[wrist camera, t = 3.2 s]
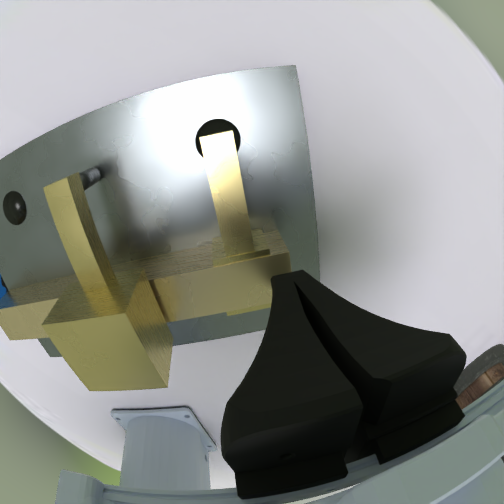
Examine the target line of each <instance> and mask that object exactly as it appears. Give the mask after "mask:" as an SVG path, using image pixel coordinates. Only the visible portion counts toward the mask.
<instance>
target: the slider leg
mask: <svg viewBox="0 0 504 504" xmlns="http://www.w3.org/2000/svg"><path fill="white" fill-rule="evenodd" d="M100 176H101V175H100V171H99V170H98V169H97V168H95V167H92V168H89V169H87V170H85V171H83V172H81V173H79V172H77V173H74V174H72V175H69V176H67V177H65V178H62V179H60V180H57V181H55V182H53V183H51V184H49V185H47V186H45V187H43V189H44V193H45V196H46V199H47V202H48V205H49V208H50V211H51V214H52V217H53V220H54V222H55V225H56V228H57V230H58V233H59V236H60V238H61V241H62V243H63V246H64V248H65V251H66V253H67V255H68V258H69V260H70V262H71V264H72V267H73V269H74V271H75V273H76V275H77V278H78V280H79V282H74V283H70V284H68V286H67V287H66V288H65V290H64V291H63V293H62V294H61V296H60V297H59V299H58V300H57V302H56V303H55V305H54V306H53V308H52V309H51V311H50V312H49V314H48V315H47V317H46V318H45V320H44V322H43V323H42V327H43V329H44V330H45V332H46V333H47V335H48V336H49V338H50V339H51V341H52V342H53V344H54V345H55V347H56V348H57V349H58V351H59V352H60V354H61V355H62V357H63V358H64V359H65V361H66V362H67V363H68V365H69V366H70V367H71V369H72V370H73V371H74V372H75V374H76V375H77V376H78V378H79V379H80V380H81V381H82V382H83V384H84V385H85V386H86V387H87V388H88V390H89V391H122V390H142V389H156V388H167V387H168V380H169V370H170V362H171V354H172V346H173V336H172V334H171V332H170V330H169V328H168V326H167V323H166V321H165V319H164V317H163V314H162V312H161V310H160V307H159V305H158V303H157V300H156V298H155V296H154V293H153V291H152V288H151V286H150V283H149V281H148V278H147V276H146V273H145V271H144V268H139V269H135V270H130V271H125V272H121V273H116V274H114V272H113V269H112V267H111V265H110V262H109V260H108V257H107V255H106V252H105V250H104V247H103V245H102V242H101V239H100V237H99V234H98V231H97V228H96V226H95V223H94V220H93V217H92V214H91V211H90V208H89V205H88V202H87V199H86V196H85V192H84V191H85V190H86V189H88V188H89V187H91V186H93V185H94V184H96V183H97V182H98V181H99V180H100Z"/></svg>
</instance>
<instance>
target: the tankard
mask: <svg viewBox="0 0 504 504" xmlns="http://www.w3.org/2000/svg"><path fill="white" fill-rule="evenodd" d="M503 380H504V345H502V344H498V345H496V346H494V347H492V348H490V349H488V350H487V351H485V352H484V353H483V354H481V355H480V356H479V357H477V358H476V359H475V360H474V361H473V362H472V363H470V364H469V365H468V366H467V367H466V368H465V369H464V370H463V371H462V373H461V375H460V377H459V378H458V380H457V382H456V384H455V385H454V387H453V388H454V389H455V391H456V392H457V394H458V397H457V398H456V399H455V400H456V402H457V403H458V405H459V406H460V408H461V410H462V409H464V408H465V407H467V406H468V405H470V404H471V403H473V402H474V401H476V400H477V399H479V398H480V397H481V396H483V395H484V394H486V393H487V392H488V391H490V390H491V389H492V388H494V387H495V386H496V385H498V384H499V383H500V382H501V381H503ZM501 459H502V461H503V463H504V455H503V456H502V457H501Z"/></svg>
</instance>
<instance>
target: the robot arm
mask: <svg viewBox="0 0 504 504" xmlns="http://www.w3.org/2000/svg"><path fill="white" fill-rule="evenodd" d="M270 280H271V286H272V302H271V310H270V315H269V319H268V324H267V327H266V331H265V334H264V337H263V340H262V343H261V345H260V347H259V350H258V352H257V355H256V357H255V359H254V361H253V363H252V365H251V367H250V368H249V370H248V372H247V374H246V375H245V377H244V379H243V381H242V382H241V384H240V385H239V387H238V388H237V389H236V391H235V392H234V394H233V395H232V396H231V398H230V399H229V400H228V402H227V404H226V408H225V412H224V416H223V421H222V427H221V450H222V456H223V459H224V460H225V461H226V462H227V463H228V465H229V466H230V467H231V468H232V470H233V471H234V472H235V479H236V488H227V489H213V490H211V489H210V474H209V456H208V452H210V451H216V450H217V447H216V445H215V444H214V443H213V441H212V440H211V438H210V437H209V436H208V434H207V433H206V432H205V430H204V429H203V427H202V426H201V424H200V423H199V422H198V420H197V419H196V417H195V416H194V414H193V413H192V411H191V410H190V409H189V408H171V409H156V410H114V411H111V416H112V417H113V418H114V419H115V420H116V421H117V422H118V423H119V424H120V425H121V426H122V427H123V428H124V429H125V430H126V437H125V444H124V451H123V459H122V467H121V476H120V477H121V478H120V486H114V485H107V484H103V483H102V482H101V481H99V480H98V479H96V478H94V477H92V476H89V475H86V474H82V473H77V472H72V471H68V470H64V469H63V470H61V472H60V477H59V482H58V488H57V494H56V501H55V504H284V503H289V502H294V501H299V500H303V499H308V498H312V497H316V496H319V495H323V494H327V493H331V492H334V491H337V490H340V489H343V488H347V487H350V486H353V485H356V484H358V485H356V486H354V487H352V488H351V489H348V490H345V491H342V492H340V493H337V494H334V495H331V496H328V497H325V498H322V499H319V500H316V501H312V502H309V503H306V504H504V463H503V461H502V459H501V457H502V456H503V455H504V380H503V381H501V382H500V383H499V384H498V385H496V386H495V387H494V388H492V389H491V390H490V391H488V392H487V393H486V394H484V395H483V396H481V397H480V398H479V399H477V400H476V401H474V402H473V403H471V404H470V405H468V406H467V407H465V408H464V409H462V410H461V408H460V406H459V405H458V403H457V402H456V400H455V399H456V398H457V397H458V394H457V392H456V391H455V389H454V388H453V387H454V385H455V384H456V382H457V380H458V378H459V377H460V375H461V373H462V371H463V369H464V366H465V364H466V357H467V356H466V354H465V352H464V351H463V349H462V348H461V347H460V346H459V344H458V343H457V342H456V341H455V340H454V338H453V337H452V336H451V335H450V334H446V333H440V332H433V331H427V330H422V329H418V328H414V327H410V326H406V325H403V324H399V323H396V322H393V321H390V320H388V319H385V318H382V317H380V316H377V315H375V314H372V313H370V312H368V311H366V310H364V309H362V308H360V307H358V306H356V305H354V304H352V303H350V302H349V301H347V300H345V299H344V298H342V297H340V296H339V295H337V294H336V293H334V292H333V291H331V290H330V289H328V288H327V287H326V286H324V285H323V284H321V283H320V282H319V281H317V280H316V279H315V278H313V277H312V276H311V275H310V274H308V273H307V272H306V271H304V270H298V271H294V272H289V273H284V274H280V275H275V276H272V278H271V279H270ZM361 482H362V483H361ZM359 483H360V484H359Z"/></svg>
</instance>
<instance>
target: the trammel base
mask: <svg viewBox="0 0 504 504" xmlns="http://www.w3.org/2000/svg"><path fill="white" fill-rule="evenodd" d="M92 167H95V168H97V169H98V170H99V171H100V175H101V176H100V180H99V181H98V182H97V183H96V184H94V185H93V186H91V187H89V188H88V189H86V190H85V191H84V192H85V196H86V199H87V202H88V205H89V208H90V211H91V214H92V217H93V220H94V223H95V226H96V228H97V231H98V234H99V237H100V239H101V242H102V245H103V247H104V250H105V252H106V255H107V257H108V260H109V262H110V265H111V267H112V269H113V272H114V274H116V273H121V272H125V271H130V270H135V269H139V268H144V271H145V273H146V276H147V278H148V281H149V283H150V286H151V288H152V291H153V293H154V296H155V298H156V300H157V303H158V305H159V307H160V310H161V312H162V314H163V317H164V319H165V321H166V323H167V326H168V328H169V330H170V332H171V334H172V336H173V346H176V345H182V344H189V343H195V342H202V341H208V340H213V339H219V338H225V337H230V336H235V335H241V334H246V333H251V332H256V331H260V330H265V329H266V327H267V324H268V319H269V315H270V310H271V302H272V286H271V280H270V279H271V278H272V276H275V275H280V274H284V273H289V272H294V271H298V270H304V271H306V272H307V273H308V274H310V275H311V276H312V277H313V278H315V279H316V280H317V281H319V282H320V271H319V253H318V238H317V225H316V213H315V202H314V191H313V182H312V172H311V164H310V155H309V147H308V140H307V132H306V125H305V118H304V112H303V105H302V99H301V93H300V87H299V81H298V76H297V70H296V65H291V66H278V67H268V68H259V69H251V70H244V71H237V72H230V73H225V74H219V75H214V76H208V77H204V78H199V79H194V80H190V81H186V82H181V83H177V84H174V85H170V86H166V87H162V88H159V89H155V90H152V91H149V92H145V93H142V94H139V95H136V96H133V97H130V98H127V99H124V100H121V101H118V102H116V103H113V104H110V105H107V106H105V107H102V108H100V109H97V110H95V111H92V112H90V113H88V114H85V115H83V116H81V117H78V118H76V119H74V120H72V121H70V122H67V123H65V124H63V125H61V126H59V127H57V128H55V129H53V130H51V131H49V132H47V133H45V134H43V135H41V136H39V137H38V138H36V139H34V140H32V141H30V142H29V143H27V144H25V145H23V146H22V147H20V148H18V149H17V150H15V151H13V152H12V153H10V154H9V155H7V156H5V157H4V158H2V159H1V160H0V274H1V276H2V278H3V280H4V282H5V284H6V286H7V288H8V291H7V292H6V294H5V295H4V296H3V297H2V298H1V300H0V326H1V327H2V329H3V330H4V332H5V333H6V335H7V336H8V338H9V339H10V340H23V339H36V338H37V339H38V340H39V342H40V343H41V345H42V346H43V347H44V349H45V350H46V352H47V353H48V354H49V356H50V357H62V355H61V354H60V352H59V351H58V349H57V348H56V347H55V345H54V344H53V342H52V341H51V339H50V338H49V336H48V335H47V333H46V332H45V330H44V329H43V327H42V323H43V322H44V320H45V318H46V317H47V315H48V314H49V312H50V311H51V309H52V308H53V306H54V305H55V303H56V302H57V300H58V299H59V297H60V296H61V294H62V293H63V291H64V290H65V288H66V287H67V286H68V284H70V283H74V282H79V280H78V278H77V275H76V273H75V271H74V269H73V267H72V264H71V262H70V260H69V258H68V255H67V253H66V251H65V248H64V246H63V243H62V241H61V238H60V236H59V233H58V230H57V228H56V225H55V222H54V220H53V217H52V214H51V211H50V208H49V205H48V202H47V199H46V196H45V193H44V189H43V187H45V186H47V185H49V184H51V183H53V182H55V181H57V180H60V179H62V178H65V177H67V176H69V175H72V174H74V173H77V172H79V173H81V172H83V171H85V170H87V169H89V168H92Z"/></svg>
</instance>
